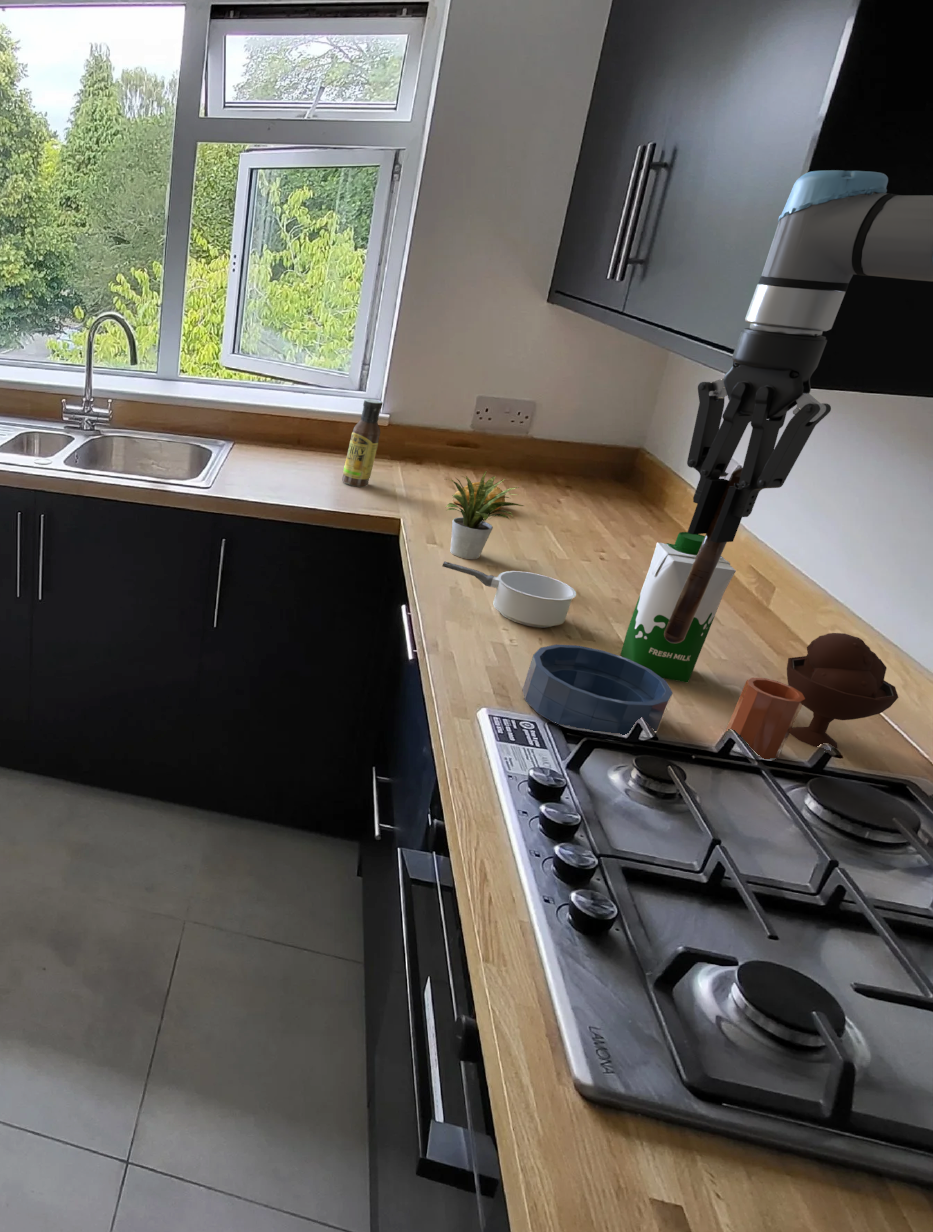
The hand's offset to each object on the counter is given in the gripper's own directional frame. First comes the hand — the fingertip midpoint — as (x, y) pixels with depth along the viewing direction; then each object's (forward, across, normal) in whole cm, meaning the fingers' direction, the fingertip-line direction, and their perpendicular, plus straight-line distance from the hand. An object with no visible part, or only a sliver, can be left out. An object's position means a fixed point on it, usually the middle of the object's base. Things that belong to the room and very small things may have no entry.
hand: (710, 536), depth 104 cm
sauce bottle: (+25, +101, -28) cm, 108 cm away
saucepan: (+26, +34, -9) cm, 44 cm away
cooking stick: (+14, 0, 0) cm, 14 cm away
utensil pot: (+26, -8, -9) cm, 29 cm away
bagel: (+25, +83, -48) cm, 99 cm away
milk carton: (+26, +12, -16) cm, 33 cm away
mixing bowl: (+26, +4, +4) cm, 27 cm away
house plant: (+26, +57, -20) cm, 66 cm away
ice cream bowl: (+26, -8, -20) cm, 34 cm away
